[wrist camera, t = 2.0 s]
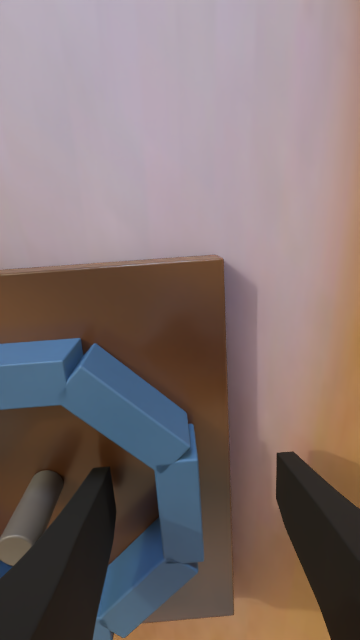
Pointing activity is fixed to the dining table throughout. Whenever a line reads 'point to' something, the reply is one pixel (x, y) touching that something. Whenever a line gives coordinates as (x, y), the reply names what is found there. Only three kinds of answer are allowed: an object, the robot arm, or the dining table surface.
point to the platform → (152, 366)
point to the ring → (140, 441)
